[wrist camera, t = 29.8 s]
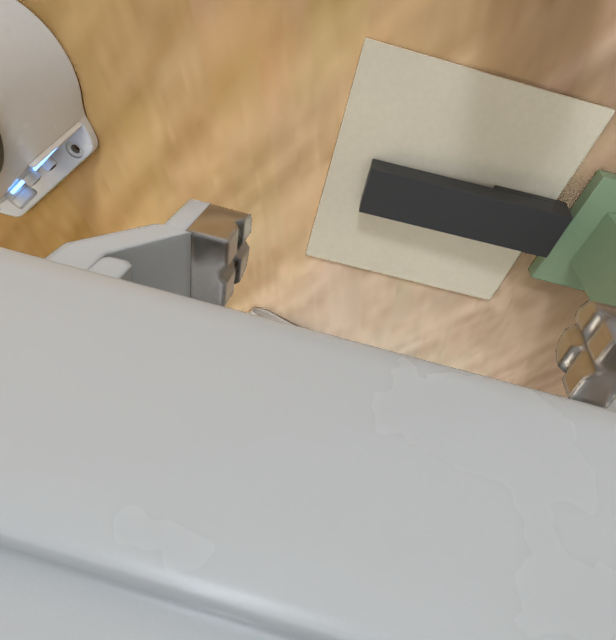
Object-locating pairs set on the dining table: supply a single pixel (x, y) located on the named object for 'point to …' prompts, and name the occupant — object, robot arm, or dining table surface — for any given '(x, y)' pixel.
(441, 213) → the remote
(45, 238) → the dining table surface
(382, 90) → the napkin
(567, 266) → the stand
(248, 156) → the dining table surface
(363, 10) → the dining table surface
